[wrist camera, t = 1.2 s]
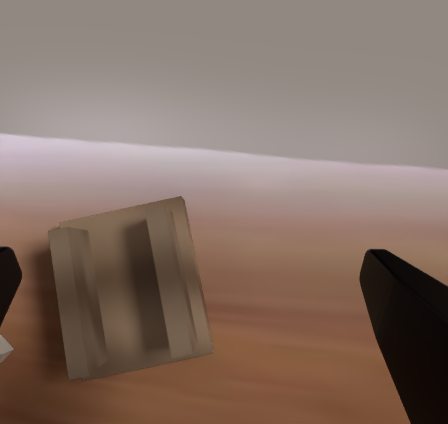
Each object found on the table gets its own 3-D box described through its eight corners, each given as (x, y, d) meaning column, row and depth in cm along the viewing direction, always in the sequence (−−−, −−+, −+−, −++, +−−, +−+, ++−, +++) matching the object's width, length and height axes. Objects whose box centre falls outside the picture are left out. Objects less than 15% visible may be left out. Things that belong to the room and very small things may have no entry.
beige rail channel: (213, 347, 24) (208, 369, 19) (91, 373, 24) (57, 400, 19) (184, 199, 25) (172, 187, 21) (69, 224, 25) (33, 218, 21)
